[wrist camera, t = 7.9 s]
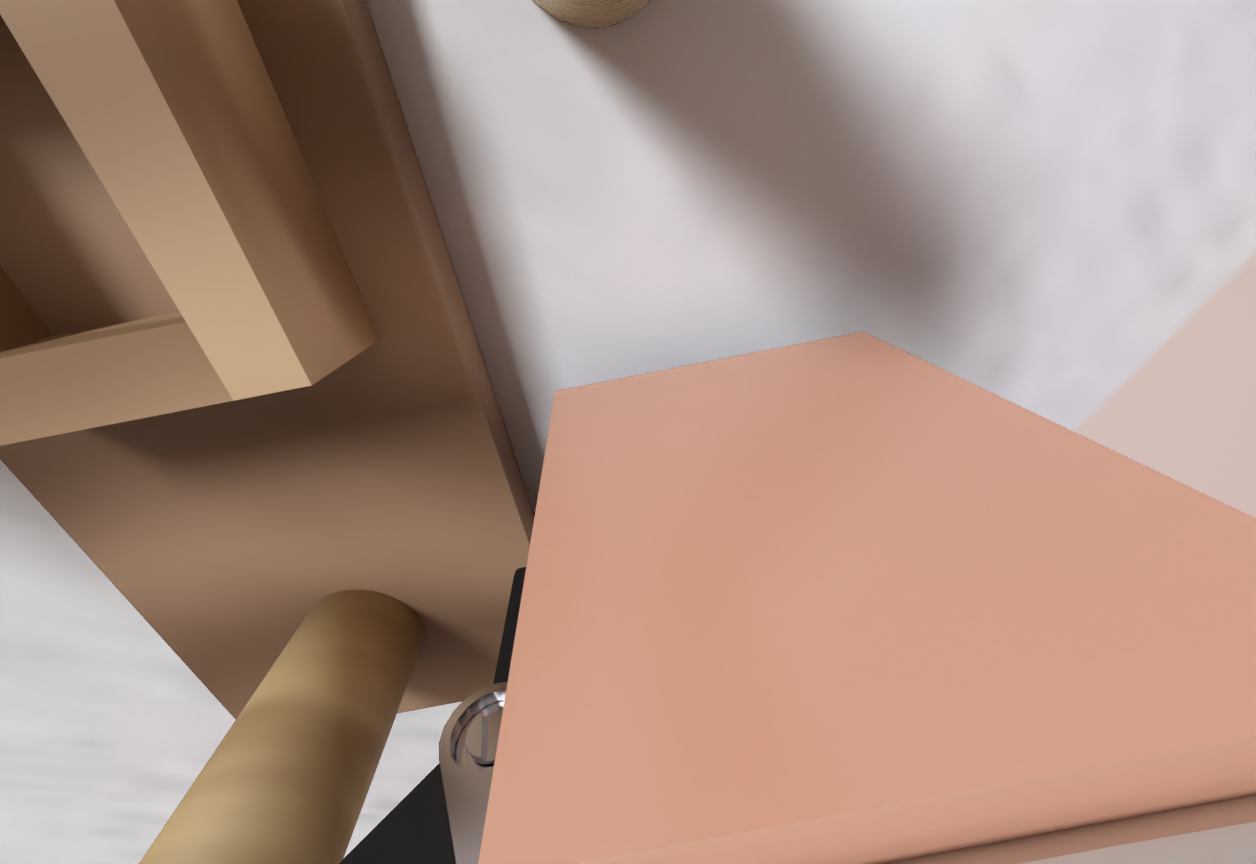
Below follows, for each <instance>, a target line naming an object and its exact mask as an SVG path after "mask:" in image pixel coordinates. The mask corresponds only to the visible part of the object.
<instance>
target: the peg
mask: <svg viewBox="0 0 1256 864" xmlns="http://www.w3.org/2000/svg"><path fill="white" fill-rule="evenodd" d="M533 1H534V2H535V3H536V4H537V5H539V6H540V7H541V8H542V9H544V10H545V11H546V12H548V13H549V14H551V15H552V16H554V17H556V18H558V19H559V20H562V21H564V22H567V23H569V24H572V25H576V26H581V27H592V28H597V27H606V26H610V25H613V24H617V23H619V22H621V21H624V20H626V19H628V18H630V17H631V16H633V15H634V14H636V13H637V12H638V11H640V10H641V9H642V8H643V7H644V6H645V5H646V4H647V3H648V2H649V1H650V0H533Z"/></svg>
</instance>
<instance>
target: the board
mask: <svg viewBox="0 0 1256 864" xmlns="http://www.w3.org/2000/svg"><path fill="white" fill-rule="evenodd" d="M0 459H1V460H2V461H3V463H4V464H5V465H6V466H7V467H8V468H9V469H10V470H11V471H12V473H13V474H14V475H15V476H16V477H17V478H18V479H19V480H20V481H21V482H22V484H23V485H24V486H25V487H26V488H27V489H28V490H29V491H30V492H31V494H32V495H33V496H34V497H35V498H36V499H37V500H38V501H39V502H40V503H41V505H42V506H43V507H44V508H45V509H46V510H47V511H48V512H49V513H50V515H51V516H52V517H53V518H54V519H55V520H56V521H57V522H58V523H59V525H60V526H61V527H62V528H63V529H64V530H65V531H66V532H67V533H68V534H69V536H70V537H71V538H72V539H73V540H74V541H75V542H76V543H77V544H78V546H79V547H80V548H81V549H82V550H83V551H84V552H85V553H86V554H87V555H88V557H89V558H90V559H91V560H92V561H93V562H94V563H95V564H96V565H97V567H98V568H99V569H100V570H101V571H102V572H103V573H104V574H105V575H106V576H107V578H108V579H109V580H110V581H111V582H112V583H113V584H114V585H115V586H116V588H117V589H118V590H119V591H120V592H121V593H122V594H123V595H124V596H125V598H126V599H127V600H128V601H129V602H130V603H131V604H132V605H133V606H134V607H135V609H136V610H137V611H138V612H139V613H140V614H141V615H142V616H143V617H144V619H145V620H146V621H147V622H148V623H149V624H150V625H151V626H152V627H153V628H154V630H155V631H156V632H157V633H158V634H159V635H160V636H161V637H162V638H163V640H164V641H165V642H166V643H167V644H168V645H169V646H170V647H171V648H172V650H173V651H174V652H175V653H176V654H177V655H178V656H179V657H180V658H181V659H182V661H183V662H184V663H185V664H186V665H187V666H188V667H189V668H190V669H191V671H192V672H193V673H194V674H195V675H196V676H197V677H198V678H199V679H200V680H201V682H202V683H203V684H204V685H205V686H206V687H207V688H208V689H209V690H210V692H211V693H212V694H213V695H214V696H215V697H216V698H217V699H218V700H219V702H220V703H221V704H222V705H223V706H224V707H225V708H226V709H227V710H228V711H229V713H230V714H231V715H232V716H233V717H234V718H235V719H236V721H235V722H234V724H233V725H232V727H231V728H230V729H229V731H228V732H227V734H226V735H225V737H224V738H223V740H222V741H221V743H220V744H219V746H218V747H217V749H216V750H215V752H214V753H213V755H212V756H211V758H210V759H209V761H208V762H207V764H206V765H205V767H204V768H203V770H202V771H201V773H200V774H199V775H198V777H197V778H196V780H195V781H194V783H193V784H192V786H191V787H190V789H189V790H188V792H187V793H186V795H185V796H184V798H183V799H182V801H181V802H180V804H179V805H178V807H177V808H176V810H175V811H174V813H173V814H172V816H171V817H170V819H169V820H168V821H167V823H166V824H165V826H164V827H163V829H162V830H161V832H160V833H159V835H158V836H157V838H156V839H155V841H154V842H153V844H152V845H151V847H150V848H149V850H148V851H147V853H146V854H145V856H144V857H143V859H142V860H141V862H140V863H139V864H339V863H340V862H341V861H342V860H343V857H344V855H345V852H346V849H347V847H348V844H349V841H350V838H351V836H352V833H353V830H354V828H355V825H356V822H357V820H358V817H359V814H360V811H361V809H362V806H363V803H364V801H365V798H366V795H367V793H368V790H369V787H370V784H371V782H372V779H373V776H374V774H375V771H376V768H377V765H378V763H379V760H380V757H381V755H382V752H383V749H384V747H385V744H386V741H387V738H388V736H389V733H390V730H391V728H392V725H393V722H394V720H395V717H396V714H397V713H402V712H407V711H412V710H418V709H423V708H428V707H434V706H439V705H444V704H450V703H455V702H460V701H464V700H465V699H466V698H468V697H469V696H470V695H472V694H473V693H475V692H476V691H477V690H479V689H481V688H484V687H486V686H489V685H491V684H493V682H494V677H495V672H496V666H497V661H498V656H499V651H500V646H501V640H502V635H503V630H504V625H505V619H506V614H507V609H508V604H509V599H510V593H511V588H512V583H513V578H514V574H515V571H516V570H517V569H518V568H522V567H526V566H527V560H528V554H529V548H530V542H531V535H532V529H533V523H534V514H533V511H532V508H531V505H530V502H529V499H528V496H527V493H526V489H525V486H524V483H523V480H522V477H521V474H520V471H519V468H518V465H517V462H516V459H515V456H514V453H513V450H512V447H511V444H510V441H509V438H508V434H507V431H506V428H505V425H504V422H503V419H502V416H501V413H500V410H499V407H498V404H497V401H496V398H495V395H494V392H493V389H492V386H491V382H490V379H489V376H488V373H487V370H486V367H485V364H484V361H483V358H482V355H481V352H480V349H479V346H478V343H477V340H476V337H475V334H474V331H473V327H472V324H471V321H470V318H469V315H468V312H467V309H466V306H465V303H464V300H463V297H462V294H461V291H460V288H459V285H458V282H457V279H456V275H455V272H454V269H453V266H452V263H451V260H450V257H449V254H448V251H447V248H446V245H445V242H444V239H443V236H442V233H441V230H440V227H439V224H438V220H437V217H436V214H435V211H434V208H433V205H432V202H431V199H430V196H429V193H428V190H427V187H426V184H425V181H424V178H423V175H422V172H421V168H420V165H419V162H418V159H417V156H416V153H415V150H414V147H413V144H412V141H411V138H410V135H409V132H408V129H407V126H406V123H405V120H404V117H403V113H402V110H401V107H400V104H399V101H398V98H397V95H396V92H395V89H394V86H393V83H392V80H391V77H390V74H389V71H388V68H387V65H386V61H385V58H384V55H383V52H382V49H381V46H380V43H379V40H378V37H377V34H376V31H375V28H374V25H373V22H372V19H371V16H370V13H369V10H368V6H367V3H366V0H0Z"/></svg>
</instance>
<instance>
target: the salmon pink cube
mask: <svg viewBox="0 0 1256 864" xmlns="http://www.w3.org/2000/svg"><path fill="white" fill-rule="evenodd" d="M1255 794H1256V518H1254V517H1252V516H1250V515H1248V514H1246V513H1243V512H1241V511H1239V510H1237V509H1235V508H1233V507H1231V506H1229V505H1227V504H1224V503H1222V502H1220V501H1218V500H1216V499H1214V498H1212V497H1210V496H1208V495H1205V494H1204V493H1201V492H1199V491H1197V490H1195V489H1193V488H1191V487H1189V486H1187V485H1184V484H1183V483H1180V482H1178V481H1176V480H1174V479H1172V478H1170V477H1168V476H1166V475H1164V474H1161V473H1159V472H1157V471H1155V470H1153V469H1151V468H1149V467H1147V466H1145V465H1142V464H1140V463H1138V462H1136V461H1134V460H1132V459H1130V458H1128V457H1125V456H1124V455H1121V454H1119V453H1117V452H1115V451H1113V450H1111V449H1109V448H1107V447H1105V446H1103V445H1101V444H1098V443H1096V442H1094V441H1092V440H1090V439H1088V438H1086V437H1084V436H1082V435H1079V434H1077V433H1075V432H1073V431H1071V430H1069V429H1067V428H1065V427H1063V426H1061V425H1058V424H1056V423H1054V422H1052V421H1050V420H1048V419H1046V418H1044V417H1042V416H1040V415H1037V414H1035V413H1033V412H1031V411H1029V410H1027V409H1025V408H1023V407H1021V406H1018V405H1016V404H1014V403H1012V402H1010V401H1008V400H1006V399H1004V398H1002V397H1000V396H997V395H995V394H993V393H991V392H989V391H987V390H985V389H983V388H981V387H979V386H976V385H974V384H972V383H970V382H968V381H966V380H964V379H962V378H960V377H957V376H955V375H953V374H951V373H949V372H947V371H945V370H943V369H941V368H939V367H936V366H934V365H932V364H930V363H928V362H926V361H924V360H922V359H920V358H918V357H915V356H913V355H911V354H909V353H907V352H905V351H903V350H901V349H899V348H896V347H894V346H892V345H890V344H888V343H886V342H884V341H882V340H880V339H878V338H875V337H873V336H871V335H869V334H867V333H865V332H858V333H853V334H848V335H843V336H838V337H832V338H827V339H822V340H817V341H812V342H806V343H801V344H796V345H791V346H786V347H781V348H775V349H770V350H765V351H760V352H755V353H749V354H744V355H739V356H734V357H729V358H724V359H718V360H713V361H708V362H703V363H698V364H692V365H687V366H682V367H677V368H672V369H667V370H661V371H656V372H651V373H646V374H641V375H635V376H630V377H625V378H620V379H615V380H610V381H604V382H599V383H594V384H589V385H584V386H578V387H573V388H568V389H563V390H558V391H555V394H554V400H553V406H552V412H551V419H550V425H549V431H548V437H547V443H546V449H545V456H544V462H543V468H542V474H541V480H540V486H539V492H538V499H537V505H536V511H535V517H534V523H533V529H532V535H531V542H530V548H529V554H528V560H527V566H526V572H525V579H524V585H523V591H522V597H521V603H520V609H519V615H518V622H517V628H516V634H515V640H514V646H513V652H512V658H511V665H510V671H509V677H508V683H507V689H506V695H505V702H504V708H503V714H502V720H501V726H500V732H499V738H498V745H497V751H496V757H495V763H494V769H493V775H492V781H491V788H490V794H489V800H488V806H487V812H486V818H485V824H484V831H483V837H482V843H481V849H480V855H479V861H478V864H883V863H888V862H894V861H899V860H904V859H910V858H915V857H921V856H926V855H931V854H937V853H942V852H947V851H953V850H958V849H964V848H969V847H974V846H980V845H985V844H990V843H996V842H1001V841H1007V840H1012V839H1017V838H1023V837H1028V836H1033V835H1039V834H1044V833H1049V832H1055V831H1060V830H1066V829H1071V828H1076V827H1082V826H1087V825H1092V824H1098V823H1103V822H1108V821H1114V820H1119V819H1124V818H1130V817H1135V816H1141V815H1146V814H1151V813H1157V812H1162V811H1167V810H1173V809H1178V808H1183V807H1189V806H1194V805H1200V804H1205V803H1211V802H1216V801H1222V800H1227V799H1233V798H1238V797H1244V796H1249V795H1255Z"/></svg>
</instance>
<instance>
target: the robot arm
mask: <svg viewBox="0 0 1256 864" xmlns="http://www.w3.org/2000/svg"><path fill="white" fill-rule="evenodd" d="M525 572H526V567H522V568H518V569H517V570H516V571H515V574H514V578H513V583H512V588H511V593H510V599H509V604H508V609H507V614H506V619H505V625H504V630H503V635H502V640H501V646H500V651H499V656H498V661H497V666H496V672H495V677H494V682H493V684H491V685H489V686H486V687H484V688H481V689H479V690H477V691H476V692H475V693H473V694H472V695H470V696H469V697H468V698H466V699H465V700H464V701H463V702H462V703H461V704H460V705H459V706H458V707H457V708H456V709H455V711H454V712H453V713H452V715H451V716H450V718H449V720H448V721H447V723H446V725H445V726H444V729H443V732H442V735H441V738H440V742H439V762H440V763H439V764H438V765H437V766H436V767H435V768H434V769H433V770H432V771H431V772H430V773H429V774H428V775H427V776H426V777H425V778H424V779H423V780H422V781H421V782H420V783H419V784H418V785H417V786H416V787H415V788H414V789H413V790H412V791H411V792H410V793H409V794H408V795H407V796H406V797H405V798H404V799H403V800H402V801H401V802H400V803H399V804H398V805H397V806H396V807H395V808H394V809H393V810H392V811H391V812H390V813H389V814H388V815H387V816H386V817H385V818H384V819H383V820H382V821H381V822H380V823H379V824H378V825H377V826H376V827H375V828H374V829H373V830H372V831H371V832H370V833H369V834H368V835H367V836H366V837H365V838H364V839H363V840H362V841H361V842H360V843H359V844H358V845H357V846H356V847H355V848H354V849H353V850H352V851H351V852H350V853H349V854H348V855H347V856H346V857H345V858H344V859H343V860H342V861H341V862H340V863H339V864H478V861H479V855H480V849H481V843H482V837H483V831H484V824H485V818H486V812H487V806H488V800H489V794H490V788H491V781H492V775H493V769H494V763H495V757H496V751H497V745H498V738H499V732H500V726H501V720H502V714H503V708H504V702H505V695H506V689H507V683H508V677H509V671H510V665H511V658H512V652H513V646H514V640H515V634H516V628H517V622H518V615H519V609H520V603H521V597H522V591H523V585H524V579H525ZM883 864H1256V794H1255V795H1249V796H1244V797H1238V798H1233V799H1227V800H1222V801H1216V802H1211V803H1205V804H1200V805H1194V806H1189V807H1183V808H1178V809H1173V810H1167V811H1162V812H1157V813H1151V814H1146V815H1141V816H1135V817H1130V818H1124V819H1119V820H1114V821H1108V822H1103V823H1098V824H1092V825H1087V826H1082V827H1076V828H1071V829H1066V830H1060V831H1055V832H1049V833H1044V834H1039V835H1033V836H1028V837H1023V838H1017V839H1012V840H1007V841H1001V842H996V843H990V844H985V845H980V846H974V847H969V848H964V849H958V850H953V851H947V852H942V853H937V854H931V855H926V856H921V857H915V858H910V859H904V860H899V861H894V862H888V863H883Z"/></svg>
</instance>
